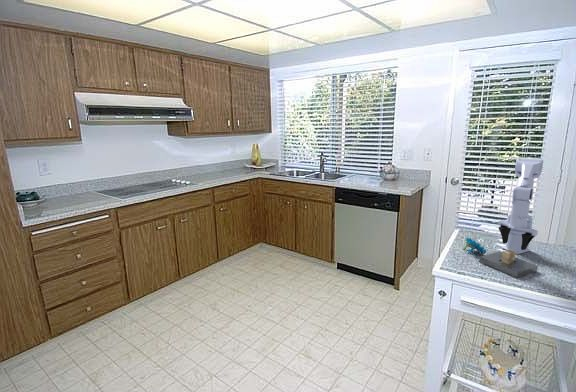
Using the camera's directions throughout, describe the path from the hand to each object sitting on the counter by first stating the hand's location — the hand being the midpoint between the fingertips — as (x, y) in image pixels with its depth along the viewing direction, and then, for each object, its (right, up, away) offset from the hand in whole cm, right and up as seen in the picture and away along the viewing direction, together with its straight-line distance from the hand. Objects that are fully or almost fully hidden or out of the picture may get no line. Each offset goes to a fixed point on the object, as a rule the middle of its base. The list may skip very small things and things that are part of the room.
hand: (513, 246), depth 132 cm
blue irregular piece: (-7, -6, +17) cm, 19 cm away
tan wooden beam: (-2, -9, +2) cm, 10 cm away
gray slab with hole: (-2, -9, +2) cm, 9 cm away
